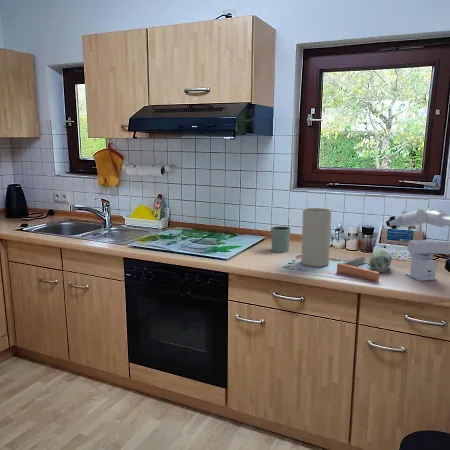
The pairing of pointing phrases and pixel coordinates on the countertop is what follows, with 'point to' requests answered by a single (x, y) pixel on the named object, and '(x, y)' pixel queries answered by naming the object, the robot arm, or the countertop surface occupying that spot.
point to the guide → (357, 270)
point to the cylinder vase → (316, 237)
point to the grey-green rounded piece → (380, 261)
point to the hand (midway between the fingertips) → (394, 222)
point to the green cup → (280, 238)
